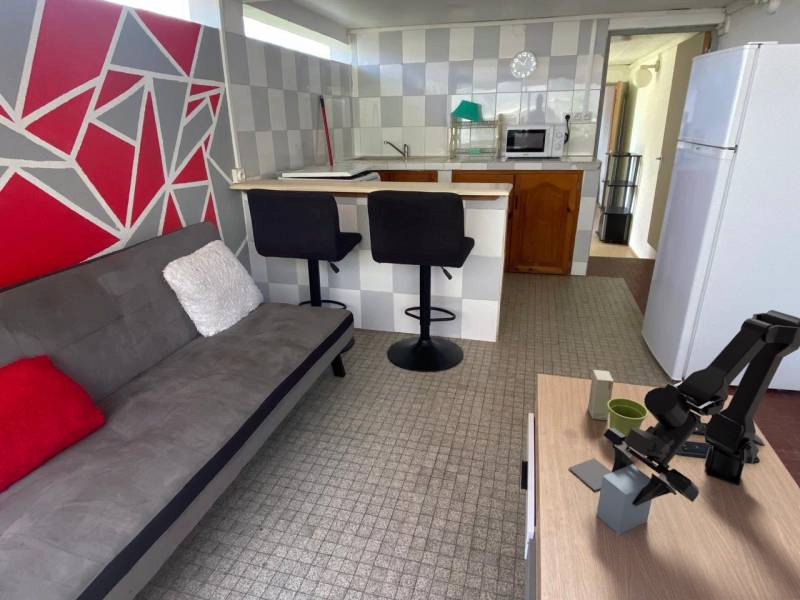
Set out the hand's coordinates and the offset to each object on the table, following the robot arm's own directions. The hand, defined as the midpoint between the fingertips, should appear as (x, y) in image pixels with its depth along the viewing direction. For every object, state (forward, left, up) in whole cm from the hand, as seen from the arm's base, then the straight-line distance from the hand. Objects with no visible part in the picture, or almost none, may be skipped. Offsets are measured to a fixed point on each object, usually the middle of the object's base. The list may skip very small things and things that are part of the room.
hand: (621, 494), depth 93 cm
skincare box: (+13, -37, -7) cm, 40 cm away
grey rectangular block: (-1, -1, -7) cm, 7 cm away
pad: (+7, -11, -7) cm, 15 cm away
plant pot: (+5, -30, -7) cm, 31 cm away
